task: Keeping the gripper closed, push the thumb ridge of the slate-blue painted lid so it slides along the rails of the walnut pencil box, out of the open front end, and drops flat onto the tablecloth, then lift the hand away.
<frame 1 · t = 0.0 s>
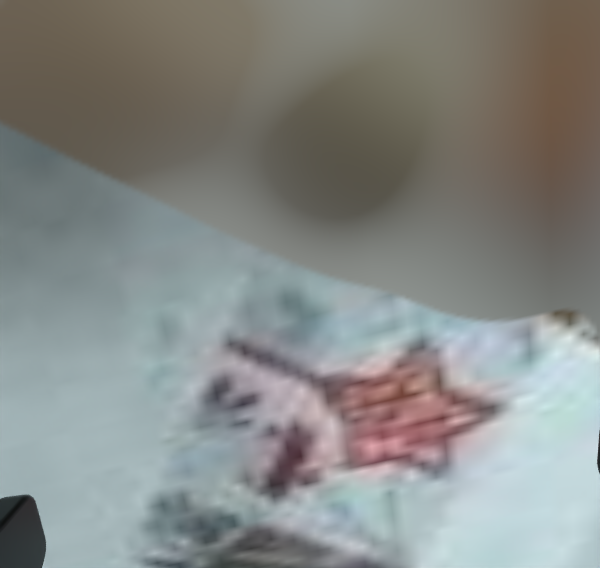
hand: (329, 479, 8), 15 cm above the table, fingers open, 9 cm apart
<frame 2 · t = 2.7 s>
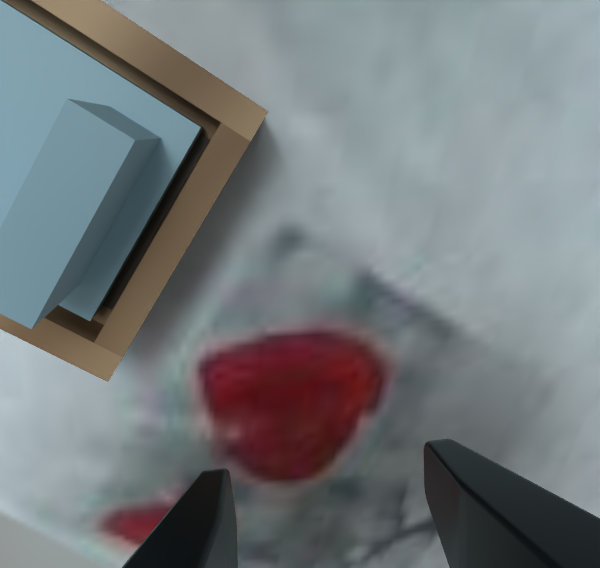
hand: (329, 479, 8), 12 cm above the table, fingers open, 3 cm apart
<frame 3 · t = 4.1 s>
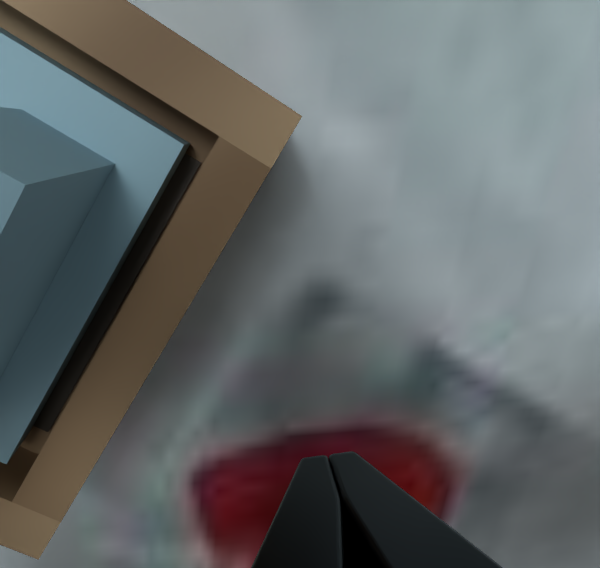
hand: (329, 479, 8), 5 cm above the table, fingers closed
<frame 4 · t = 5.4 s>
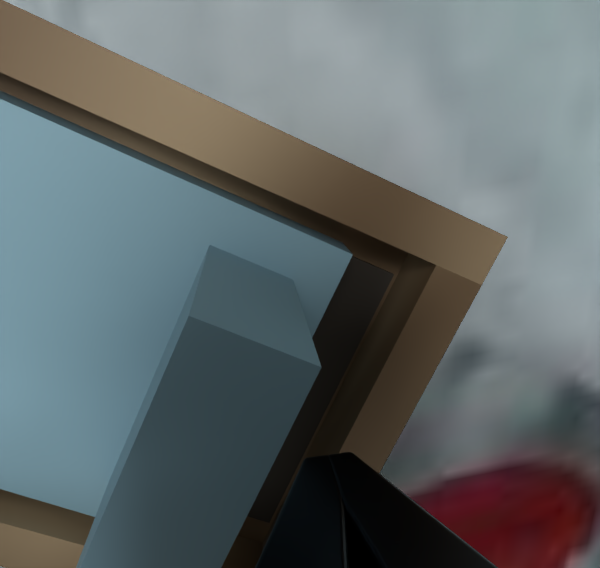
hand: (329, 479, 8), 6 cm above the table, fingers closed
slide box: (36, 243, 12), on the table
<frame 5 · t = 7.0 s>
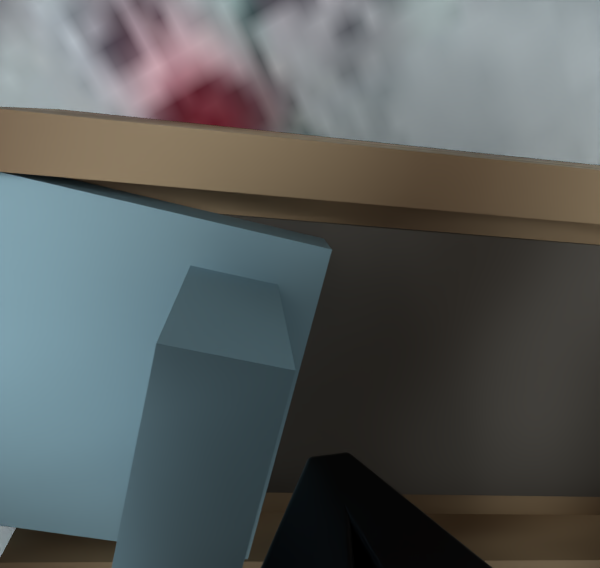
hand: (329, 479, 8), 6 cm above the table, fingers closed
slide box: (383, 321, 14), on the table
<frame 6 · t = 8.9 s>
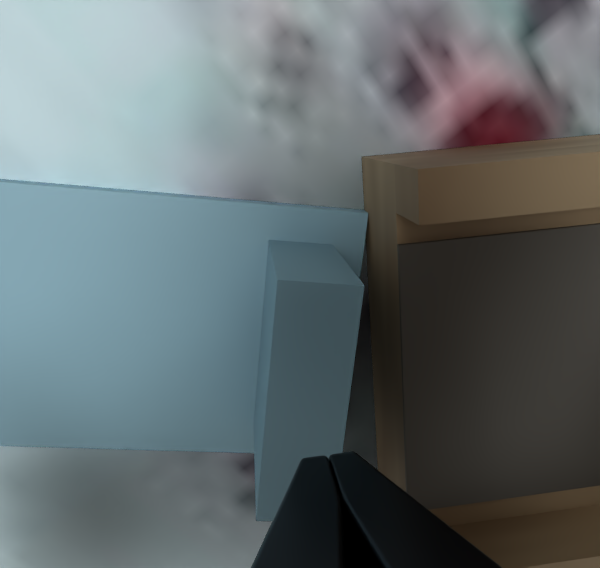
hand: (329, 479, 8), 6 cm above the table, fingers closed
lid: (48, 310, 13), on the table
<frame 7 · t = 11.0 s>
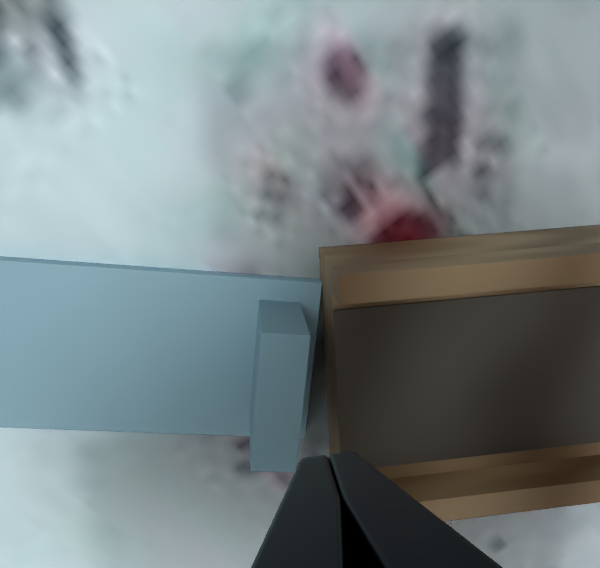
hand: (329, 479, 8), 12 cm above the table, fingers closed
slide box: (520, 340, 22), on the table
lid: (117, 343, 21), on the table
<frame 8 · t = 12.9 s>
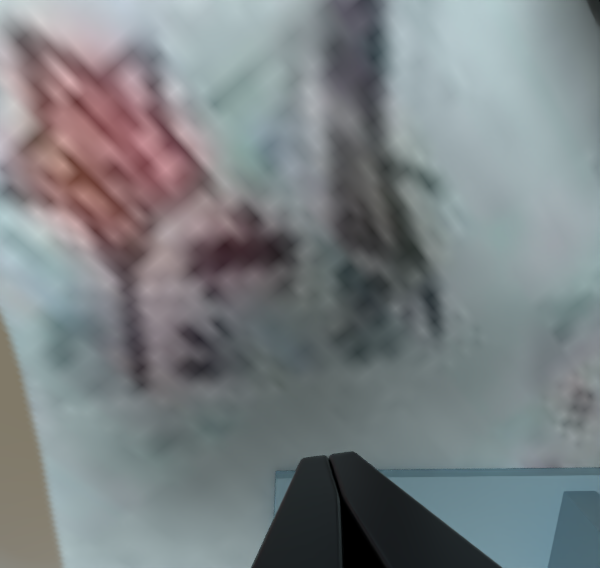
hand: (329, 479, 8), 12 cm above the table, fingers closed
lid: (434, 523, 25), on the table
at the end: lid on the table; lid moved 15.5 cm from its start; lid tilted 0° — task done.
